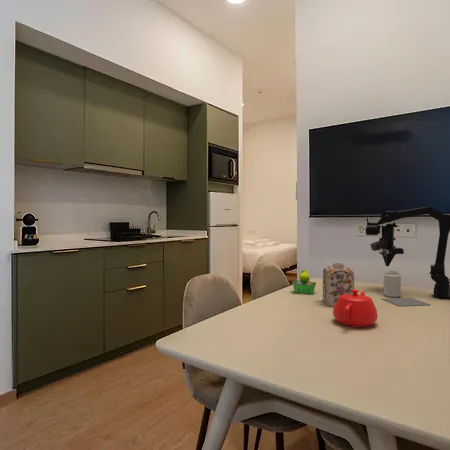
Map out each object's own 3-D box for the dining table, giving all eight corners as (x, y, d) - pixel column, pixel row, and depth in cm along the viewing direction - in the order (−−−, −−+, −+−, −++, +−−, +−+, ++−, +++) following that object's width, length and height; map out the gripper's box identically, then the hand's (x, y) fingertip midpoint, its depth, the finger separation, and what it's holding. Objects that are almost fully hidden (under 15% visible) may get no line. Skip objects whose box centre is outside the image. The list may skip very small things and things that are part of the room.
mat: (411, 298, 167) (411, 297, 167) (430, 305, 155) (430, 304, 155) (381, 299, 165) (381, 298, 165) (398, 306, 153) (398, 305, 153)
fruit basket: (292, 293, 178) (292, 271, 177) (294, 290, 186) (294, 268, 186) (315, 295, 174) (315, 272, 174) (316, 291, 183) (316, 269, 182)
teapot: (369, 335, 116) (370, 299, 116) (323, 327, 125) (323, 293, 124) (384, 317, 137) (385, 286, 136) (343, 311, 145) (344, 281, 145)
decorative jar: (348, 300, 163) (348, 261, 163) (355, 307, 152) (355, 265, 151) (321, 299, 165) (322, 261, 164) (326, 306, 153) (326, 265, 153)
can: (403, 298, 168) (403, 272, 167) (387, 298, 168) (387, 272, 167) (396, 294, 175) (396, 270, 175) (381, 294, 175) (381, 270, 175)
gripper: (363, 234, 189) (363, 264, 189) (383, 237, 170) (383, 269, 171) (382, 234, 190) (382, 263, 191) (404, 237, 172) (404, 269, 172)
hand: (387, 266), depth 181 cm, fingers closed
